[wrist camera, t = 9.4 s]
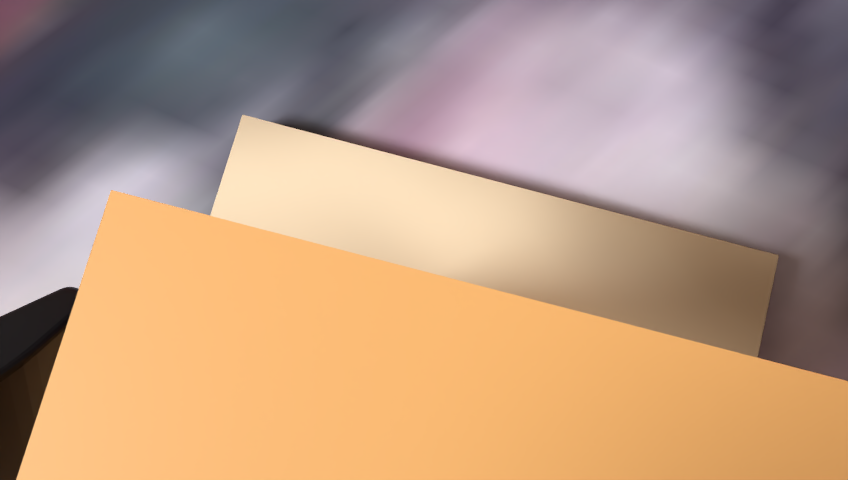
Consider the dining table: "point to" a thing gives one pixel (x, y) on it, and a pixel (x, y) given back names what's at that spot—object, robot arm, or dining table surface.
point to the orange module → (389, 375)
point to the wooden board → (496, 235)
